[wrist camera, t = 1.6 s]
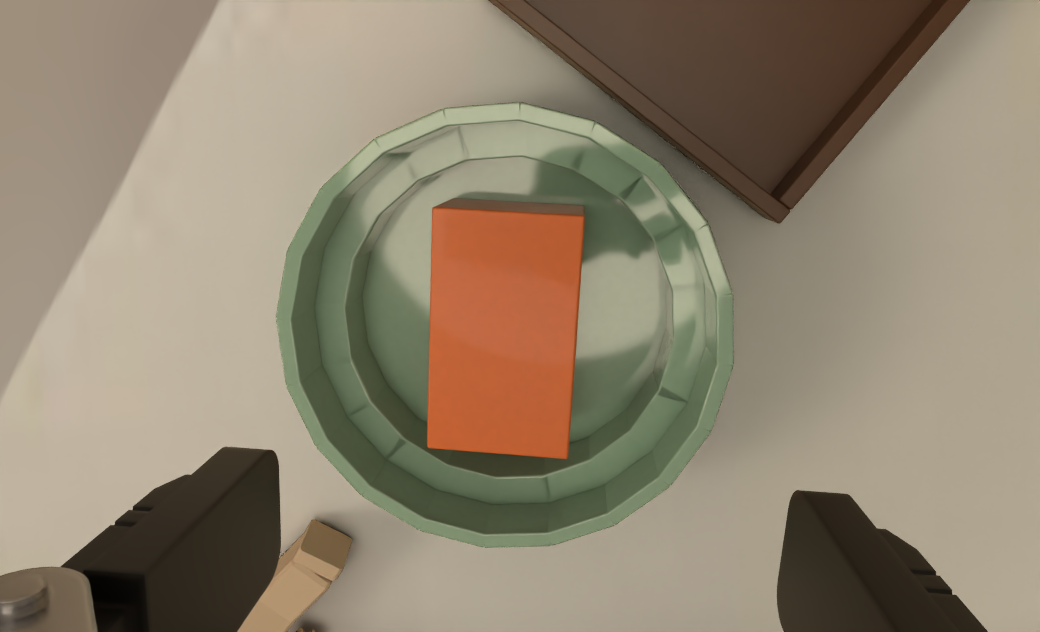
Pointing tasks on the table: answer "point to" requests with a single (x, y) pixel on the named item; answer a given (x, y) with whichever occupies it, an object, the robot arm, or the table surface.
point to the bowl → (600, 337)
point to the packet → (503, 326)
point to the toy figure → (299, 579)
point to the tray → (745, 75)
